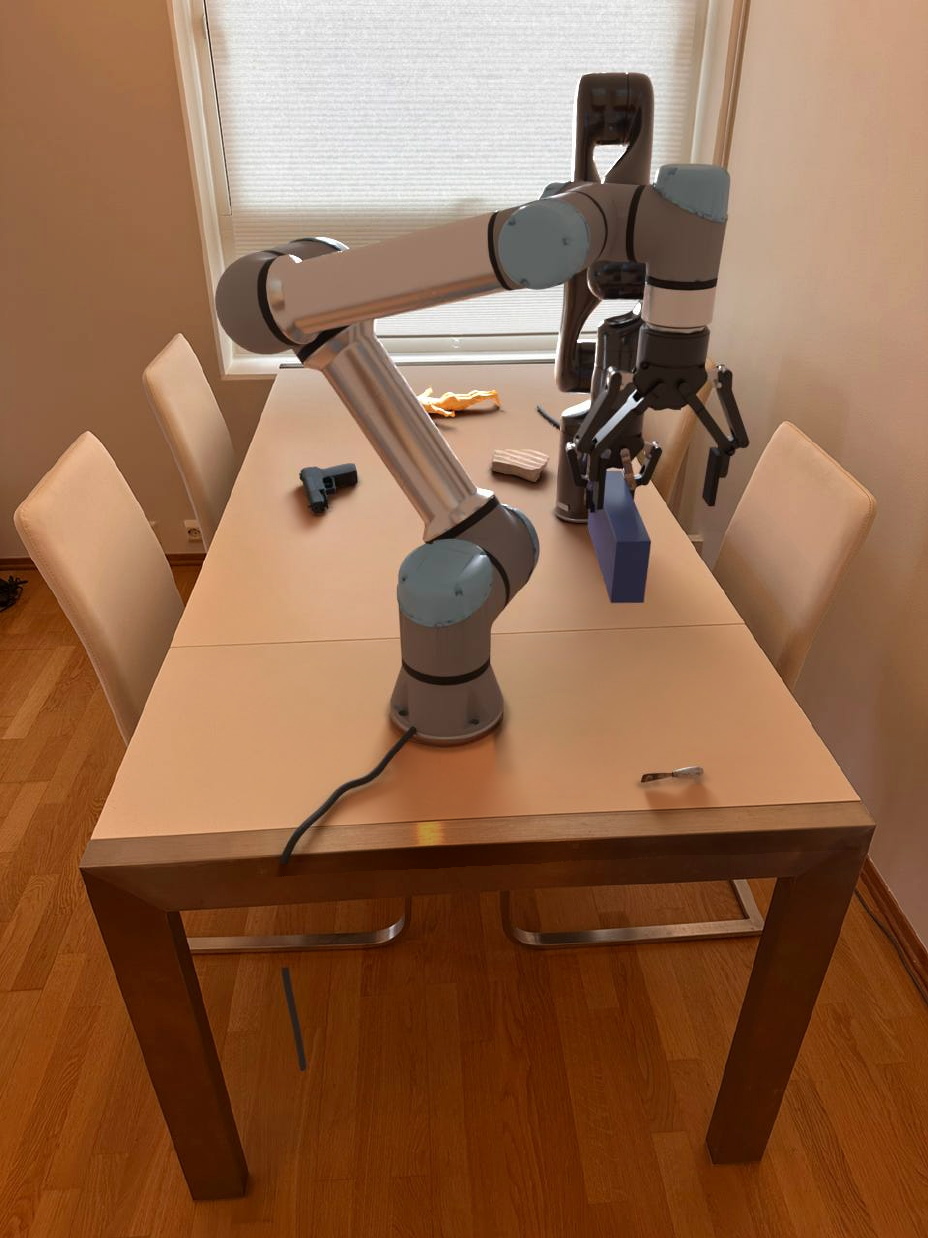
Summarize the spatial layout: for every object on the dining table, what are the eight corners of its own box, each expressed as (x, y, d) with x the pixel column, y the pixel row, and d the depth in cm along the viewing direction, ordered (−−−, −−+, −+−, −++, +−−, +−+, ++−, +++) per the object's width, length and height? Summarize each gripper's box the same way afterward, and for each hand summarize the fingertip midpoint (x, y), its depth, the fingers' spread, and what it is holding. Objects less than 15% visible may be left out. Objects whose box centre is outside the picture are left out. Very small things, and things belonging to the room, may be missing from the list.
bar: (643, 603, 118) (651, 541, 113) (610, 603, 118) (616, 541, 113) (616, 526, 137) (621, 470, 132) (587, 526, 137) (591, 470, 132)
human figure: (395, 413, 223) (394, 398, 221) (438, 390, 237) (438, 375, 235) (462, 429, 215) (462, 413, 213) (502, 404, 229) (503, 388, 227)
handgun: (369, 509, 176) (308, 516, 174) (354, 474, 190) (298, 480, 188) (368, 494, 174) (307, 501, 172) (353, 460, 189) (296, 466, 186)
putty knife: (703, 777, 109) (705, 767, 109) (642, 788, 108) (644, 777, 107) (700, 772, 110) (702, 762, 109) (639, 782, 109) (640, 771, 108)
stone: (554, 462, 195) (554, 451, 194) (536, 482, 186) (537, 471, 185) (499, 454, 200) (499, 444, 198) (479, 474, 190) (479, 463, 189)
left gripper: (775, 313, 101) (743, 487, 112) (556, 317, 99) (546, 493, 110) (801, 331, 94) (764, 513, 106) (567, 335, 93) (556, 519, 104)
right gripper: (664, 387, 125) (651, 499, 135) (562, 389, 125) (556, 500, 134) (675, 405, 119) (661, 521, 128) (569, 407, 119) (562, 522, 128)
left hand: (653, 503), depth 108 cm, fingers open, 13 cm apart
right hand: (607, 510), depth 131 cm, fingers closed on bar, 4 cm apart
